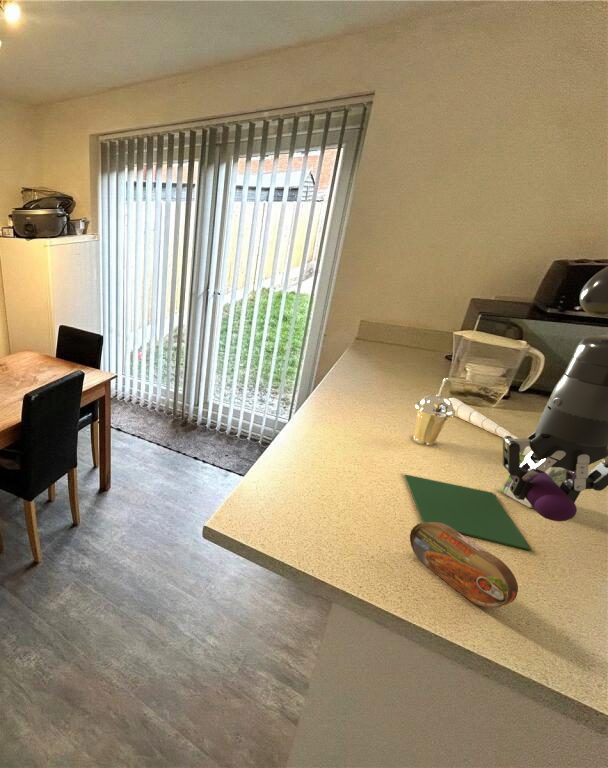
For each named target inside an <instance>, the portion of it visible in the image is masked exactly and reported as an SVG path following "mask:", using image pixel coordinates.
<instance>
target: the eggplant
mask: <svg viewBox="0 0 608 768" xmlns="http://www.w3.org/2000/svg"><path fill="white" fill-rule="evenodd" d="M514 478H515V476H513V480H514ZM531 482H532V485H531V487H530V489H529V491H528V493H527V495H526V497H525V498H526V499H527V500H528V502H529V503H530V504H531V505H532V507H533V508H532V509H534V511H535V512H536V513H537V514H538V515H540V516H541V517H543V518H544V519H547V520H549V521H553V522H567V521H569V520H572V519H573V518H574V517H576V514H577V511H578V509H577V508H578V507H577V505H576V502H575V503H574V502H573V501H572V500H571V499H570V498H569V496H568V495H567V494H566V493H565V492H564V491H563V490H562V489H561V488H560V487H559V486H558V485H557V484H556V483H555V482H554V481H553V480H552V479H551V478H550V477H549V475H548V474H546V473H545V472H544V473H540V474H538V475H537V476H536V477H535V478H534V479H533V480H532V481H531Z"/></svg>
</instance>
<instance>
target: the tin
mask: <svg viewBox="0 0 608 768" xmlns="http://www.w3.org/2000/svg"><path fill="white" fill-rule="evenodd" d="M409 543H410V547H411V549H412V551H413V554H414V555H415V557H416V558H417V559H418V560H419V562H421V563H422V565H424V566H425V567H427V569H429V570H430V571H431V572H432V573H434V574H435V575H436V576H438V577H439V578H440V579H441V580H443V581H444V582H445V583H447V584H448V585H449V586H450V587H451V588H453V589H454V590H456V591H457V592H458V593H459V594H460V595H461V596H462V597H464V598H465V599H467V600H468V601H470V602H471V603H473V604H475V605H477V606H479V607H482V608H486V609H498V608H502V607H503V606H507V605H509V604H511V603H513V602H514V601H515V600H516V598H517V597H518V592H519V585H518V581H517V578H516V576H515V575H514V573H513V571H512V570H511V569H510V568H509V566H508V565H506V563H504V561H503V560H501V559H500V558H499V557H497V556H496V555H494V554H492V553H491V552H489V550H486V549H485V548H483V547H482V546H480V545H479V544H477V543H476V542H474V541H473V540H471V539H470V538H469V537H467V536H466V535H464V534H461V533H459V532H458V531H456V530H455V529H453V528H451V527H450V526H448V525H446V524H443V523H438V522H429V523H423V522H420V523H418V524H415V525H414V526H413V527H412V528H411V531H410V533H409Z"/></svg>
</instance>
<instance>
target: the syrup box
mask: <svg viewBox="0 0 608 768" xmlns="http://www.w3.org/2000/svg"><path fill="white" fill-rule="evenodd" d="M531 451H532V450H531V448H530V446H528V447H526V448H525V450H524V452H523V453H520V465H521V464H522V463H523V462H524V459H525V457H526V456H527V455H528V454H529V453H530V452H531ZM538 462H540V461H539V460H538ZM545 473H546V474H548V475H549V477H550V478H551V479H552V480H553V481H554V482H555V483H556V484H557V485H558V486H559V487H560V486H561V484H562V482H567V481H566V470H565V469H564V468H561V467H550V468H549V469H548V470H546V471H545ZM508 475H509V476H508V477H507V479H506V481H505V483H504V485H503V486H502V489H501V493H502V494H504V495H506V496H508V497H509V498H511V499H513V500H515V501H517V502H518V503H520V504H522V505H524V506H526V507H528V508H529V509H534V508H533V507H532V505H531V504H530V503H529V502H528V500H527V499H526V498H525V499H524V500H520V499H516V497H515V496H514V495H513V493H512V492H511V490H510V486H511V484H512V482H513V475H511V474H510V473H509V474H508Z"/></svg>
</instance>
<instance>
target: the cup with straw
mask: <svg viewBox="0 0 608 768" xmlns="http://www.w3.org/2000/svg"><path fill="white" fill-rule="evenodd" d="M448 381H450V382H461V383H471V384H473V383H474V379H469V378H468V379H467V378H456V377H455V378H454V377H446V378H444V379H443V380H442V382H441V385H440V388H439V390H438V393H437V394H430V395H426V396H424V397H423V398H422V399H421V400H418V401H417V402H416V403H415V404H414V407H415V409H416V421H415V425H414V431H413V437H412V440H413V441H414V442H416V443H417V444H419V445H423V446H434V444H435V442H436V441H437V440H438V437H439V435H440V434H441V432H442V430H443V429H444V427H445V425H446V424H447V422H448V421H449V420H450V418H453V417H456V416H455V410H454V409H453V405H452V403H451V401H450V400H449V398H447V397H446V396H444V395H442V394H443V391H444V389H445V386H446V383H447V382H448Z"/></svg>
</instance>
